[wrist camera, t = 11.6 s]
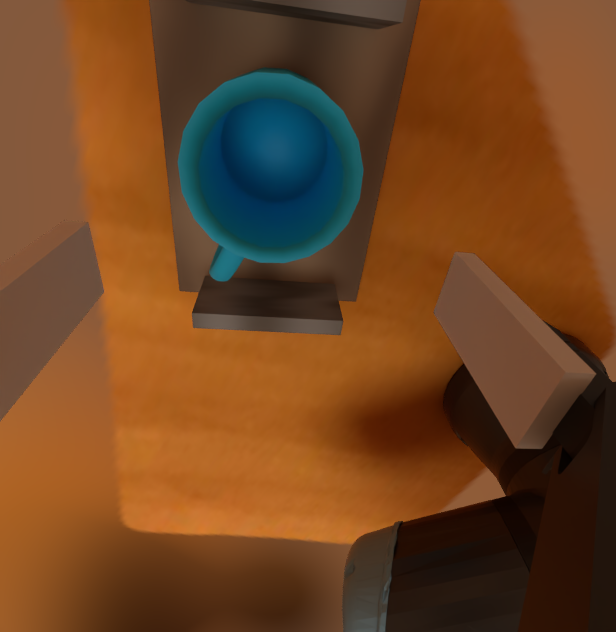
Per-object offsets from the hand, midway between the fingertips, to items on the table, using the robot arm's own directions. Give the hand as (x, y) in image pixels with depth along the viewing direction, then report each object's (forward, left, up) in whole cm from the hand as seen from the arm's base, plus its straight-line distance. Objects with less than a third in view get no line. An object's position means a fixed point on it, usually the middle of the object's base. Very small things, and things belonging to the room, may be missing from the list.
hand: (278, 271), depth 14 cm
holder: (0, 0, -14) cm, 14 cm away
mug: (+1, 0, -13) cm, 13 cm away
